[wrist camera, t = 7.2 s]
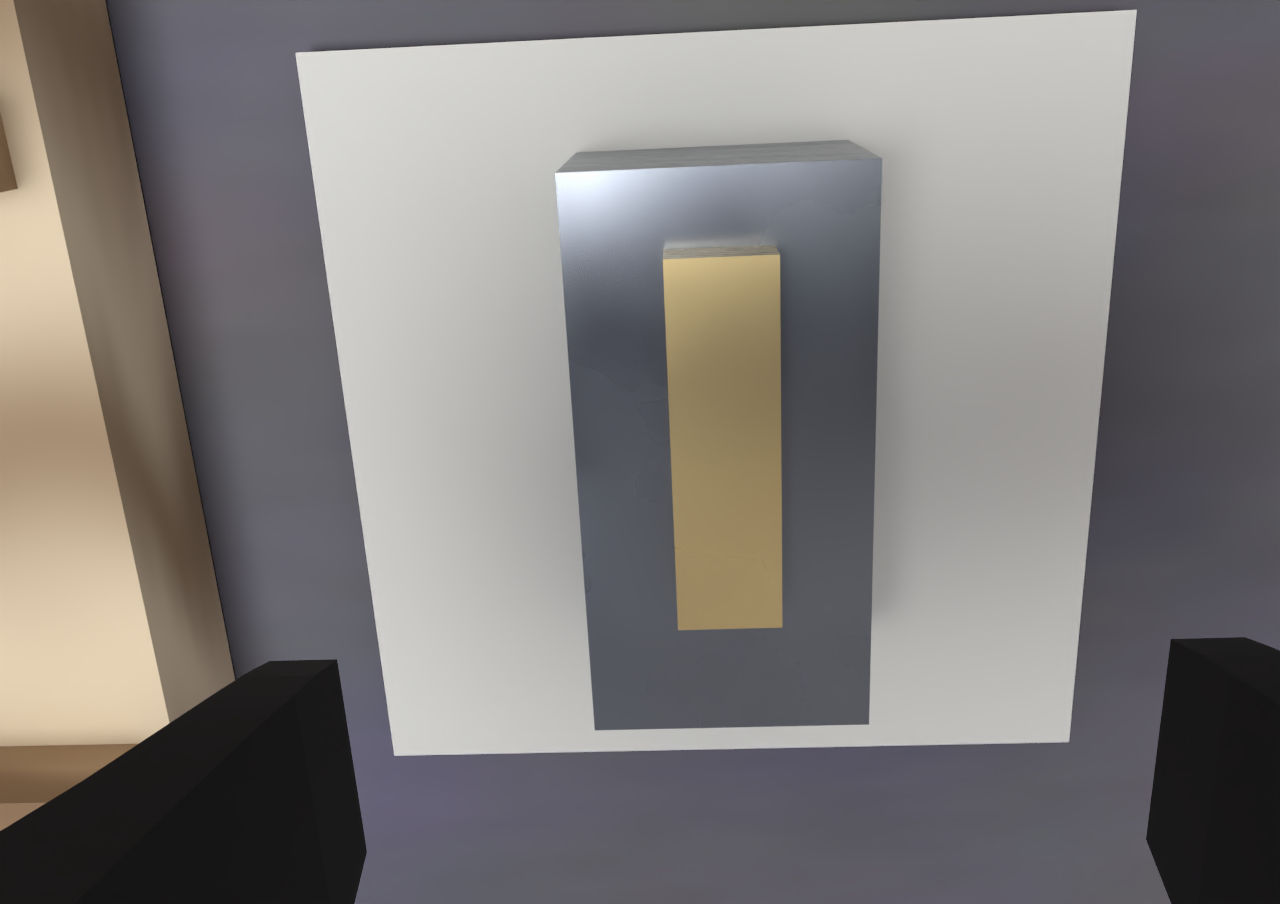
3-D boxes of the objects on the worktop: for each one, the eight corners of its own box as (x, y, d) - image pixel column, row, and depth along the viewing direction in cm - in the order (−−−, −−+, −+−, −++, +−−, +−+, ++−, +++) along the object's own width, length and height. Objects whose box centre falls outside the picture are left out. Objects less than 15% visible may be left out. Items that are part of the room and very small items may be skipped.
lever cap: (841, 625, 19) (876, 752, 16) (607, 631, 19) (591, 758, 16) (848, 140, 17) (892, 163, 13) (576, 152, 17) (548, 178, 13)
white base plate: (1057, 723, 20) (1069, 741, 20) (401, 736, 21) (394, 755, 20) (1121, 10, 16) (1137, 9, 16) (308, 52, 17) (295, 52, 16)
